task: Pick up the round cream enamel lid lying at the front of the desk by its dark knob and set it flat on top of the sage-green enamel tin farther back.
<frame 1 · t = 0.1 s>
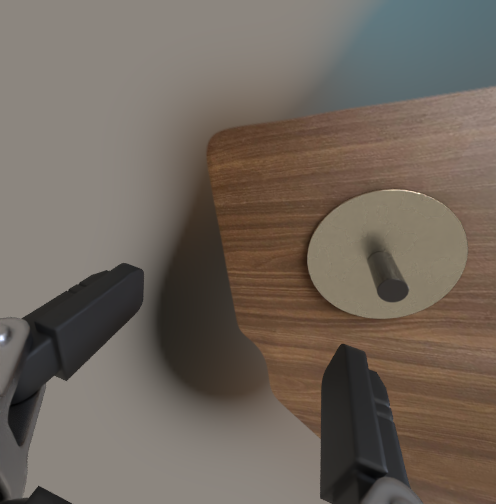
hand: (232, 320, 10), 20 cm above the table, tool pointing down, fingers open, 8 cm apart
lid: (379, 259, 27), point 1 cm above the table
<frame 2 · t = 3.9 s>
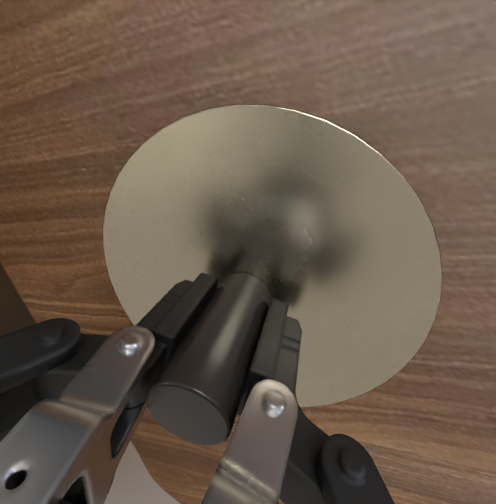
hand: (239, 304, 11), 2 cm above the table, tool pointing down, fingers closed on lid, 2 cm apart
lid: (248, 287, 12), point 1 cm above the table, touching gripper
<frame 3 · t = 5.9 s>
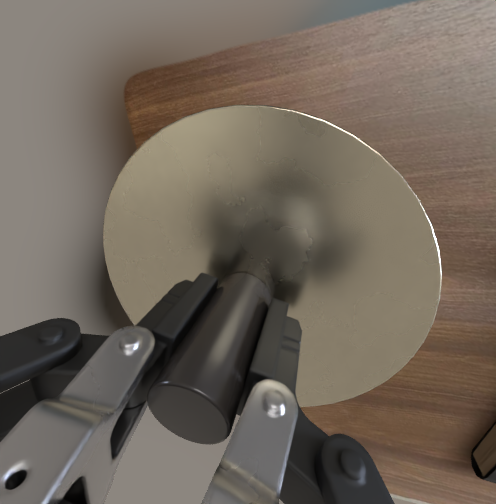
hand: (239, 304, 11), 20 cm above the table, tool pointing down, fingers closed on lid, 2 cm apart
lid: (248, 287, 12), point 19 cm above the table, touching gripper
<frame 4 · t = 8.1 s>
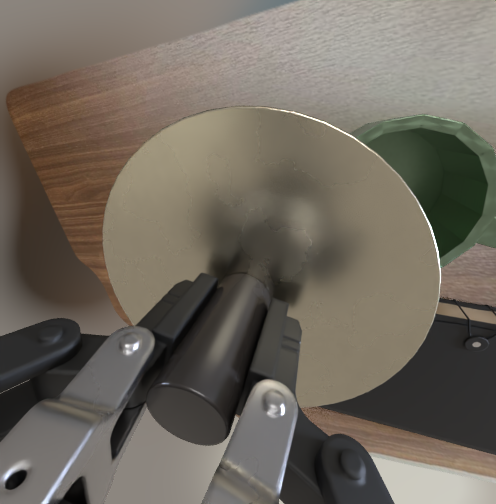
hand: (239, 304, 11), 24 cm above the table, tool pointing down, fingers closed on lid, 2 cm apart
file folder: (434, 366, 37), on the table
lid: (247, 288, 12), point 22 cm above the table, touching gripper
tin: (378, 187, 29), on the table
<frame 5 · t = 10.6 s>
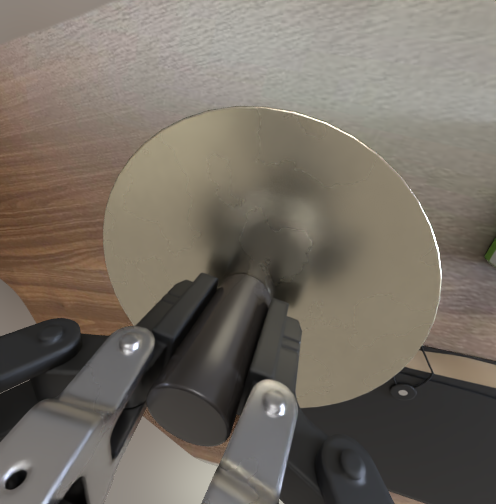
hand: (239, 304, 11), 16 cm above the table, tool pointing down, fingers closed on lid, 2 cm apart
file folder: (371, 406, 32), on the table
lid: (248, 288, 12), point 14 cm above the table, touching gripper
when the fingers open (10 cm above the table, at t = 12.3 s): lid stays where it is, resting on tin.
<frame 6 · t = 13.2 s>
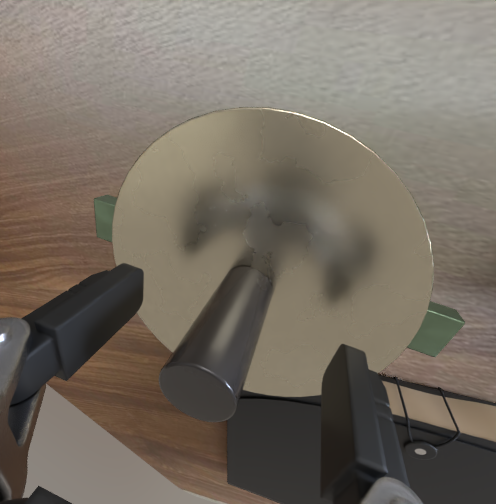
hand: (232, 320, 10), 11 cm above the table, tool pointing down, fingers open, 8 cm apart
file folder: (379, 451, 28), on the table
lid: (251, 281, 12), point 8 cm above the table, touching tin
tin: (278, 224, 20), on the table
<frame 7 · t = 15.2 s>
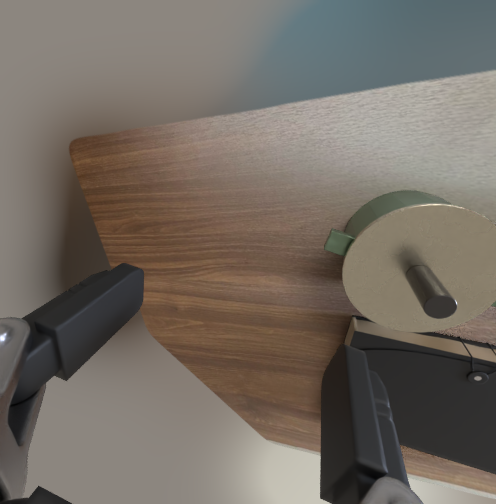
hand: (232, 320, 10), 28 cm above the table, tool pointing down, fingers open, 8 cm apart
file folder: (439, 392, 42), on the table
lid: (417, 272, 26), point 8 cm above the table, touching tin
tin: (397, 242, 34), on the table
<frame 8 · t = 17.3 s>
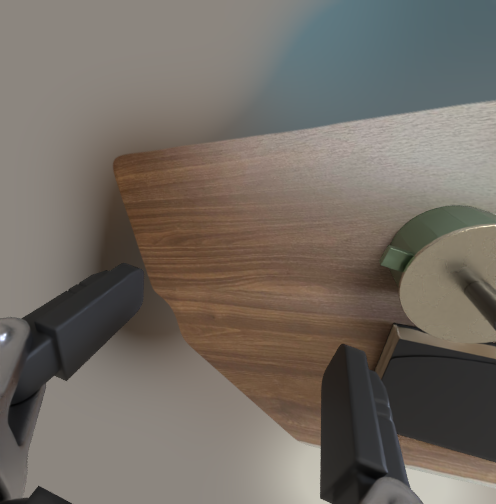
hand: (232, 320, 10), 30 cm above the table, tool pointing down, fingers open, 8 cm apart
file folder: (476, 395, 43), on the table
lid: (475, 287, 27), point 8 cm above the table, touching tin
tin: (443, 254, 35), on the table
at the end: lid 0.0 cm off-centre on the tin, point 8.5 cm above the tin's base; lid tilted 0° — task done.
